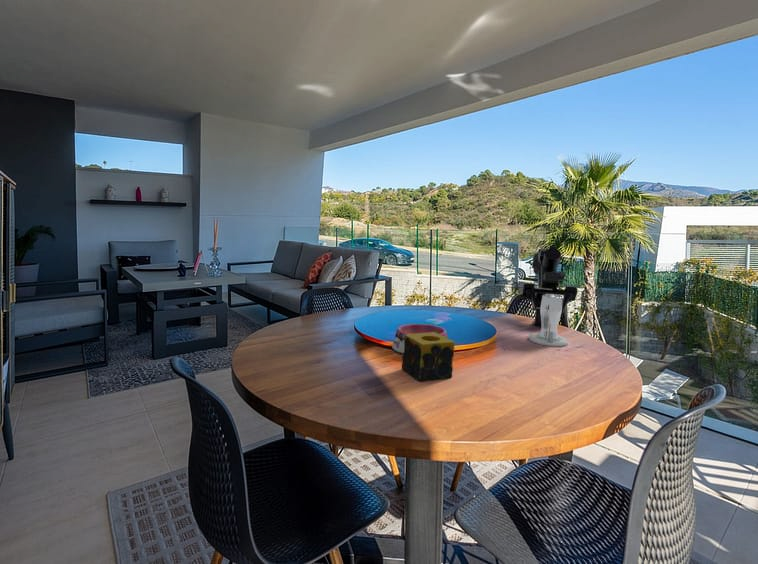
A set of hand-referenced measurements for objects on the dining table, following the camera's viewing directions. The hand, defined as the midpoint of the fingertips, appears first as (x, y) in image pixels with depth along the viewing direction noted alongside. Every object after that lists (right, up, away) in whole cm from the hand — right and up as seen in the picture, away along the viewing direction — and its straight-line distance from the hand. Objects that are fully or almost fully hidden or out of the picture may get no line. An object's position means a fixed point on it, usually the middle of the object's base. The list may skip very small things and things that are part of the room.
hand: (549, 310), depth 151 cm
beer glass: (-2, -10, -3) cm, 10 cm away
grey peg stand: (-2, -11, -3) cm, 11 cm away
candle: (-49, -14, -40) cm, 65 cm away
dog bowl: (-48, -11, -18) cm, 53 cm away
